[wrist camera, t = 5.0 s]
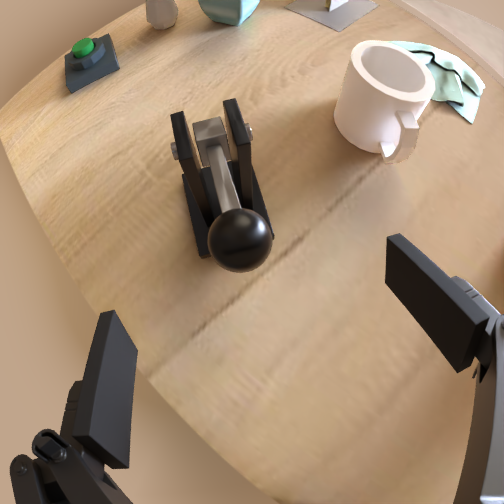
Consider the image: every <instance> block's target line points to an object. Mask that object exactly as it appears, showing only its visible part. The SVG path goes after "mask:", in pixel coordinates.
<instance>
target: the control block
mask: <svg viewBox="0 0 504 504" xmlns="http://www.w3.org/2000/svg"><path fill="white" fill-rule="evenodd" d="M91 40H92V42H93V44H94V50H93V51H92V52H91V53H89V54H88V55H86V56H84V57H82V58H76V57H75V55H74V53H73V51H71V52H70V53H69V54H67V55H65V75H66V86H67V87H68V89H69V90H70V92H71V93H73V92H75V91H77V90H79V89H80V88H82V87H84V86H86V85H88V84H90V83H92V82H94V81H96V80H98V79H100V78H102V77H104V76H106V75H108V74H110V73H112V72H114V71H116V70H118V69H120V68H119V64H118V61H117V57H116V53H115V50H114V46H113V42H112V40H111V37H110V35H109V33H108V34H106V35H104V36H102V37H100V38H93V39H91Z"/></svg>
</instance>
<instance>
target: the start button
mask: <svg viewBox="0 0 504 504" xmlns="http://www.w3.org/2000/svg"><path fill="white" fill-rule="evenodd" d="M93 50H94V44H93V42H92V40H91V39H90V38H85V39H82V40H80V41H79V42H77V43H76V44H75V45H74V46H73V48H72V51H73V53H74V55H75V57H76V58H82V57H84V56H86V55H88V54H89V53H91V52H92V51H93Z"/></svg>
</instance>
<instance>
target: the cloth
mask: <svg viewBox="0 0 504 504" xmlns="http://www.w3.org/2000/svg"><path fill="white" fill-rule="evenodd" d="M389 43H392V44H395V45H397V46H400V47H402V48H404V49H406V50H407V51H409V52H411V53H412V54H414V55H415V56H416V57H418V58H419V59H420V60H421V61H422V62H423V63H424V64H425V65H426V66H427V68H428V69H429V70H430V71H431V73H432V76H433V78H434V80H435V91H434V94H433V96H432V97H431V99H432V100H435V101H445V102H446V103H447V104H448V105H450V106H451V107H453V108H454V109H455V110H456V111H457V112H458V113H459V114H461V115H462V116H463V117H464V118H465V119H467V120H468V121H469V122H470V123H471V124H472V123H473V121H474V118H475V115H476V112H477V109H478V105H479V100H480V95H481V94H482V89H483V88H485V86H484V84H483V82H482V81H481V79H480V78H479V77H478V76H477V75H476V74H475V72H474V71H473V70H472V69H471V68H470V67H468V66H467V65H466V64H465V63H464V62H463V61H461V60H460V59H459V58H457V57H456V56H454V55H452V54H449V53H448V52H445V51H441V50H439V49H437V48H435V47H433V46H429V45H426V44H422V43H413V42H402V41H389Z"/></svg>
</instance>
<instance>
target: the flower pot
mask: <svg viewBox="0 0 504 504" xmlns="http://www.w3.org/2000/svg"><path fill="white" fill-rule="evenodd" d="M259 1H260V0H198V2H199V4H200V7H201V9H202V10H203V11H204V13H205V14H206V15H207V16H208V17H209V18H210V19H212V20H213V21H215V22H220V23H225V24H230V25H234V26H239V25H240V24H241V23H242V22H243V21H244V20H245V19H246V18H247V17H249V16H250V15H251V14H252V12H253V11H254V10H255V8H256V7H257V5H258V3H259Z"/></svg>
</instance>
